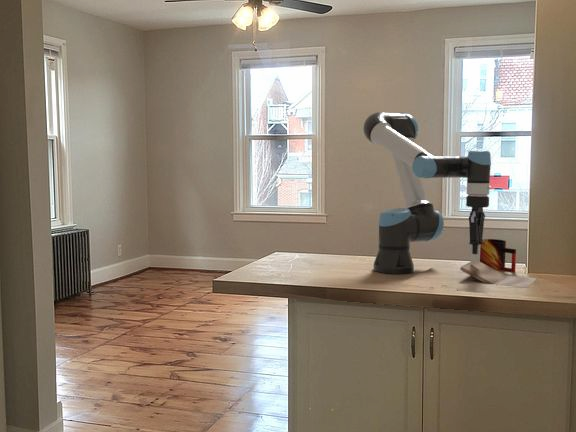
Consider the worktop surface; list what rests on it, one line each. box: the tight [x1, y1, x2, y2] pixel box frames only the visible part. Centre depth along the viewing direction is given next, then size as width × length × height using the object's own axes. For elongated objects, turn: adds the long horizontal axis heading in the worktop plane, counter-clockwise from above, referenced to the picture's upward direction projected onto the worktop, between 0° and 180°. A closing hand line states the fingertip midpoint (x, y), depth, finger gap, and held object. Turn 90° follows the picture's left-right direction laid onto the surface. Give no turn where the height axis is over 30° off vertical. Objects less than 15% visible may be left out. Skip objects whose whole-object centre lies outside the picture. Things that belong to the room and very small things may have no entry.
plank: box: [459, 261, 507, 285], centre depth 211 cm, size 12×18×1 cm, turn 149°
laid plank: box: [495, 274, 537, 289], centre depth 205 cm, size 10×18×1 cm, turn 149°
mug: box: [480, 238, 517, 273], centre depth 228 cm, size 10×14×12 cm
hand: (475, 262), depth 212 cm, fingers closed
